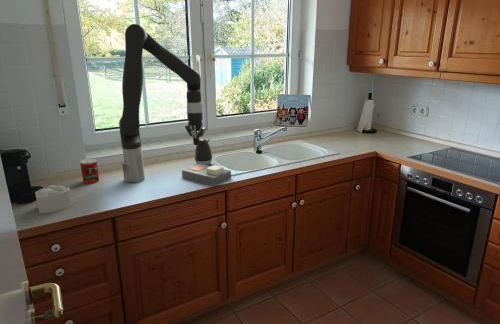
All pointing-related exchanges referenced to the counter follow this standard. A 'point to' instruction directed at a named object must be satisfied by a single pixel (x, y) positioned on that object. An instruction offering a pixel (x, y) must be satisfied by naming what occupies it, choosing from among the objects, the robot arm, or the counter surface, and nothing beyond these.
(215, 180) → the key console
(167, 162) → the counter surface
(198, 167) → the red key
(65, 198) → the lumpy-topped squat cylinder
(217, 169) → the white key
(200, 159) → the pump dispenser
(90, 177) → the canned food
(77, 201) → the counter surface
